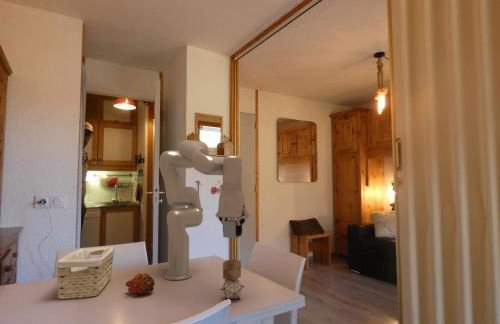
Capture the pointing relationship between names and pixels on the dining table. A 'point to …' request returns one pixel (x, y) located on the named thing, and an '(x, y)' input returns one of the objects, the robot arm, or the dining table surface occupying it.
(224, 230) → the block
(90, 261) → the storage basket
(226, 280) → the beige geometric ornament
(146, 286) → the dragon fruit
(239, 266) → the block
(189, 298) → the dining table surface
